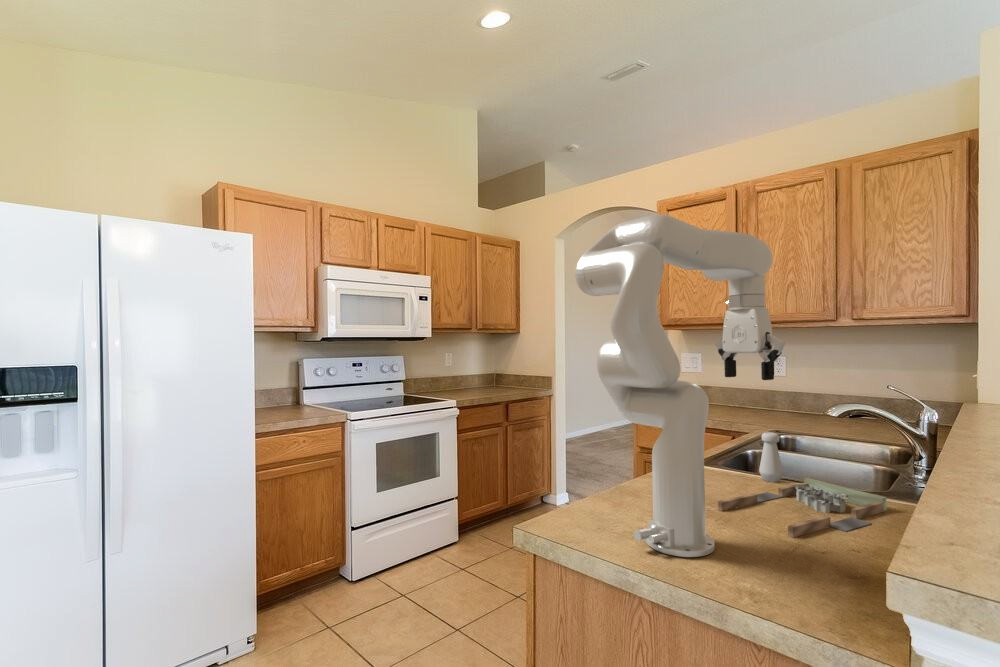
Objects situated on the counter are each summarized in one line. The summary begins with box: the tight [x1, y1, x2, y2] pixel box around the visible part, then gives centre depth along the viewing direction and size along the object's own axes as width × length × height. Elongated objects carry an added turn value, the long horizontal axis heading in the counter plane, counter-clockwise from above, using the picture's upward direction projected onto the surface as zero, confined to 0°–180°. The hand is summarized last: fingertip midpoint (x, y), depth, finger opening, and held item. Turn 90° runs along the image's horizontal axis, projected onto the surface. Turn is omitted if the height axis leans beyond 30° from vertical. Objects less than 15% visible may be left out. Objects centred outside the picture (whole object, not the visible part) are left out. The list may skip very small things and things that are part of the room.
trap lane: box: [717, 477, 888, 539], centre depth 114 cm, size 32×24×3 cm
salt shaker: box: [758, 431, 784, 483], centre depth 138 cm, size 6×6×13 cm
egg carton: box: [793, 484, 849, 514], centre depth 117 cm, size 11×8×4 cm
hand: (748, 378), depth 114 cm, fingers open, 9 cm apart
